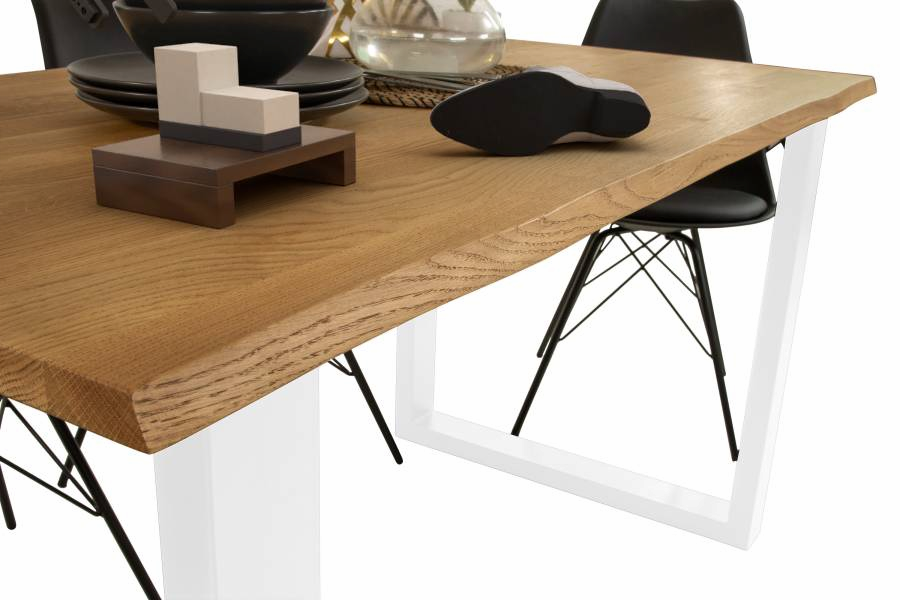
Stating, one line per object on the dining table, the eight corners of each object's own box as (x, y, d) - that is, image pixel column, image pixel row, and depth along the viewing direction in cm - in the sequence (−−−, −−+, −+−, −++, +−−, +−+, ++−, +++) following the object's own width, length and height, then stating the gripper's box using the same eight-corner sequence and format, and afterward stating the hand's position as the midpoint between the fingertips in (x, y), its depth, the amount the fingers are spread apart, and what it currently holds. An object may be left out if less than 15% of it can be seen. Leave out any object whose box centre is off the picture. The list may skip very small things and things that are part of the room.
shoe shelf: (356, 182, 99) (355, 131, 97) (219, 229, 82) (216, 168, 81) (244, 164, 105) (242, 116, 103) (96, 204, 89) (90, 148, 87)
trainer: (302, 142, 92) (299, 52, 89) (263, 152, 87) (259, 58, 84) (201, 127, 97) (196, 42, 94) (159, 136, 92) (152, 47, 90)
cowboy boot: (672, 82, 114) (587, 58, 137) (439, 63, 106) (389, 41, 129) (658, 164, 117) (577, 127, 140) (430, 152, 109) (383, 115, 132)
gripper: (-12, -151, 86) (96, -5, 85) (114, -140, 98) (210, -11, 97) (-44, -86, 91) (59, 54, 90) (81, -83, 102) (173, 41, 101)
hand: (138, 20), depth 93 cm, fingers open, 8 cm apart
